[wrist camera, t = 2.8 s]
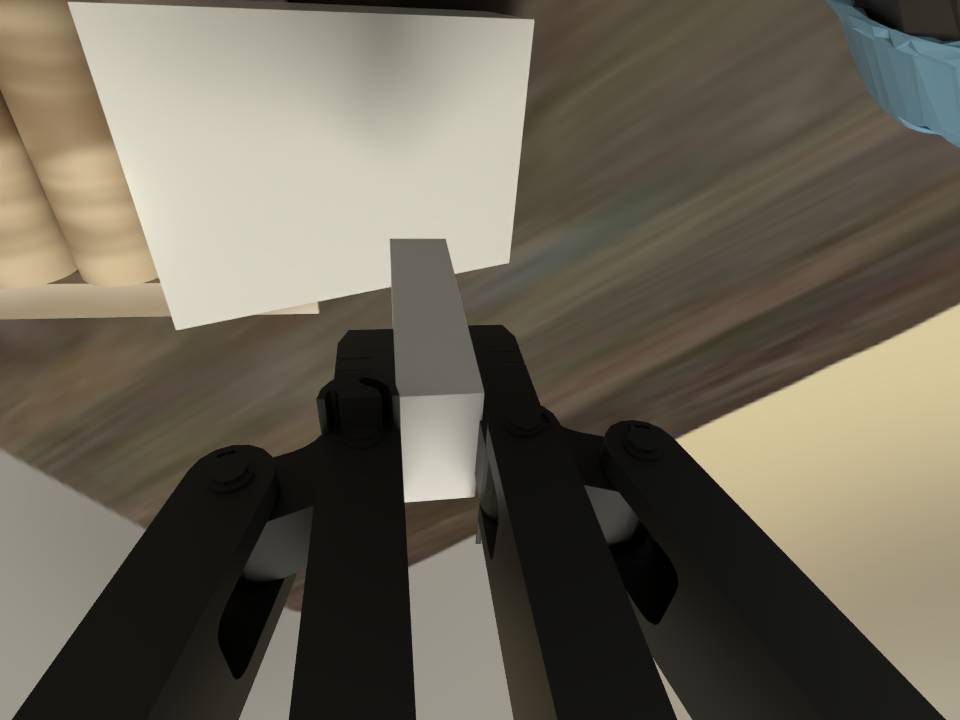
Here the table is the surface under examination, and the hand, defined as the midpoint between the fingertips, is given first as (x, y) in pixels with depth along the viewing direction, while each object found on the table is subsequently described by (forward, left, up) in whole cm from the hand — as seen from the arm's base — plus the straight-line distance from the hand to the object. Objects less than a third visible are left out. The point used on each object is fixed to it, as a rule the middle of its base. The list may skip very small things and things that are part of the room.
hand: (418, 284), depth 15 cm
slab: (0, -3, -13) cm, 13 cm away
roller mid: (0, -15, -14) cm, 21 cm away
